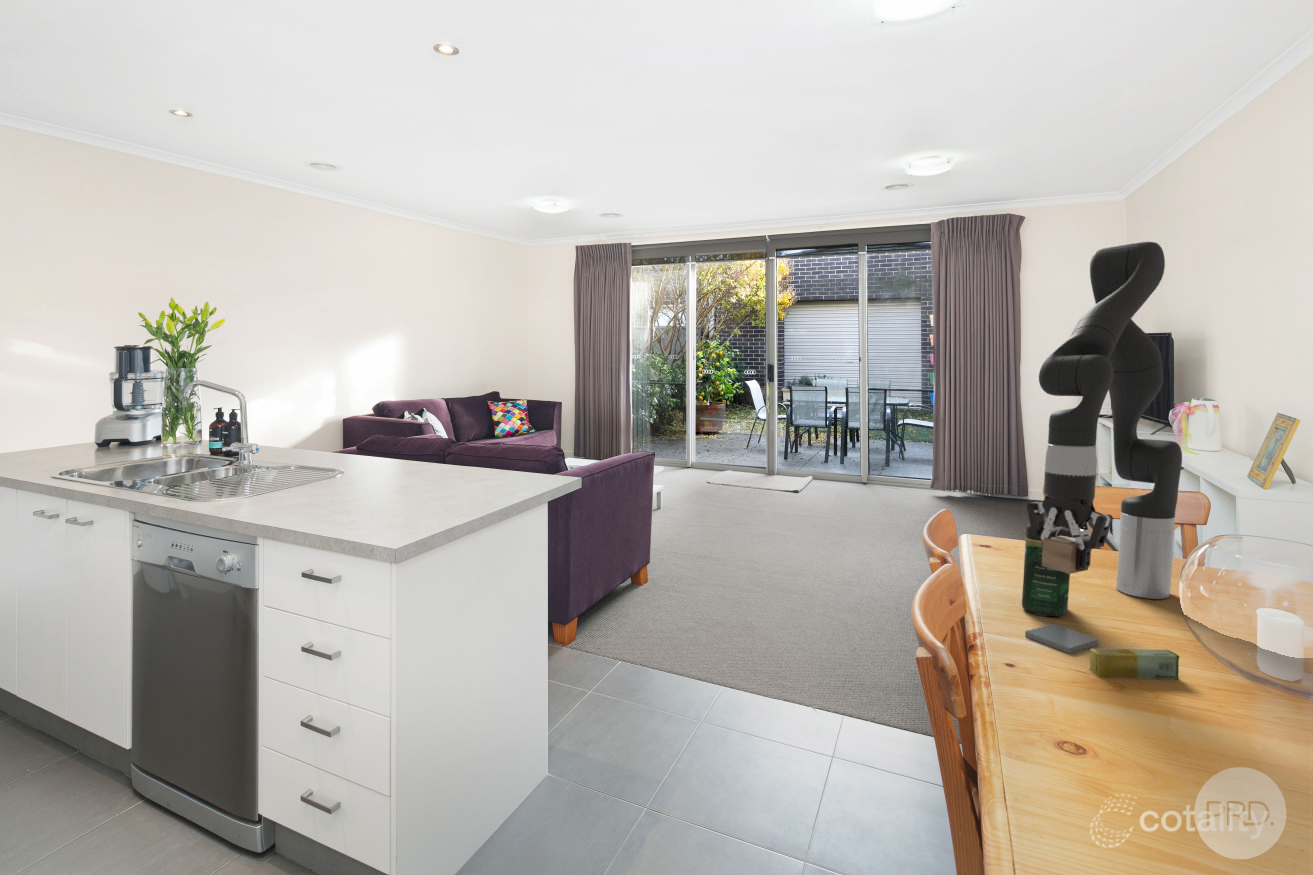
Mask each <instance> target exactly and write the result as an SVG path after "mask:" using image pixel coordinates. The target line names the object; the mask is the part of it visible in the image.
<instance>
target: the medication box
mask: <svg viewBox="0 0 1313 875" xmlns="http://www.w3.org/2000/svg"><path fill="white" fill-rule="evenodd" d="M1089 651H1090V656H1089V657H1090V658H1089V664H1090V665H1089V668H1088V671H1090V672H1091V673H1092V674H1094V675H1095V676H1097V677H1098V678H1112V679H1113V678H1114V679H1141V680H1166V681H1167V680H1169V681H1170V680H1172V681H1173V680H1174V681H1178V680H1179V679H1180V678H1179V677H1180V676H1179V668H1180V666H1179V660H1180V655H1178V654H1177V653H1175V652H1173V651H1171V650H1169V649H1149V648H1147V649H1146V648H1143V649H1141V648H1137V649H1136V648H1132V649H1131V648H1097V647H1096V648H1095V647H1094V648H1093V647H1090V649H1089Z"/></svg>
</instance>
